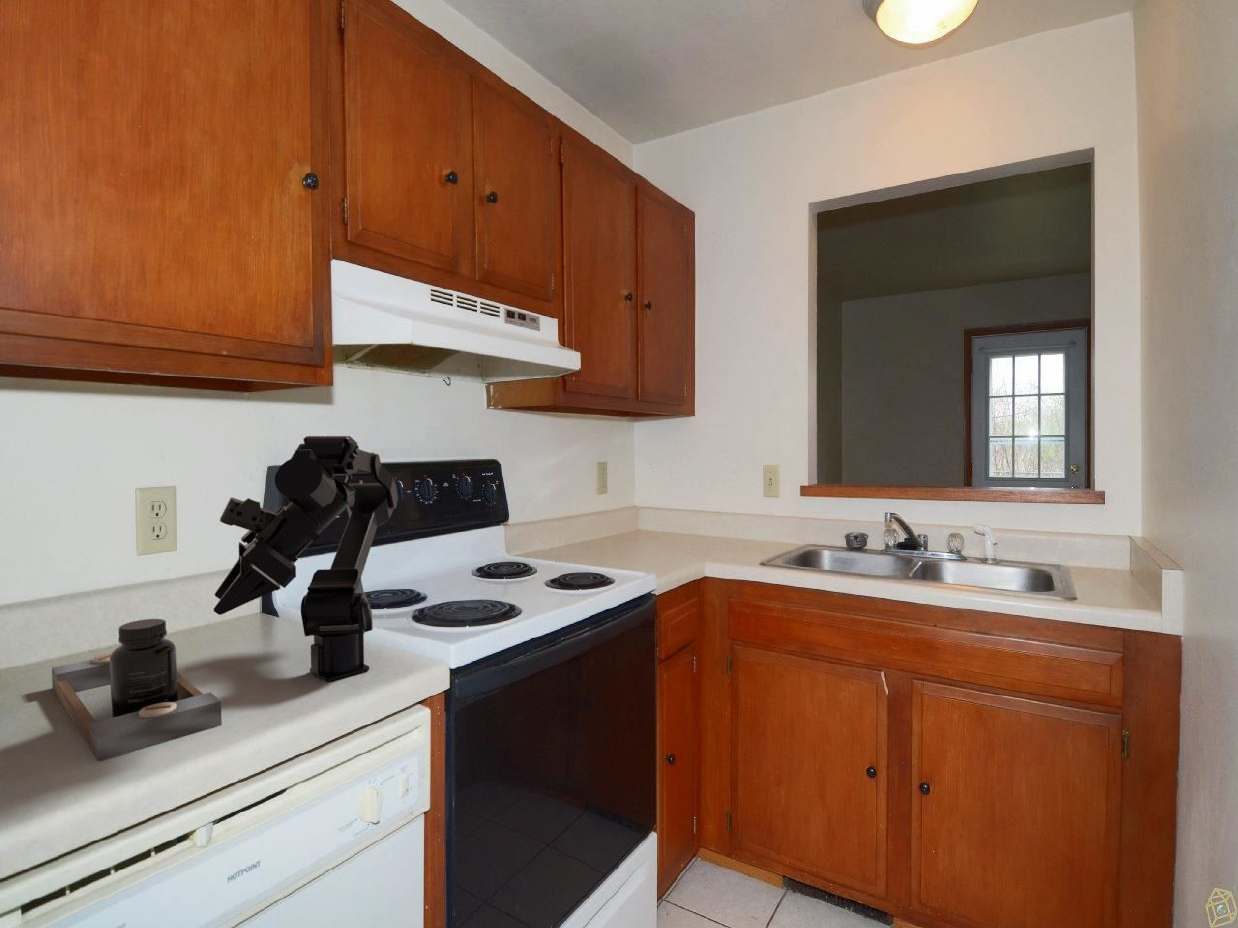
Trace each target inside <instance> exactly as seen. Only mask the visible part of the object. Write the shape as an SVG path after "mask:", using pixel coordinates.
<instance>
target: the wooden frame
mask: <svg viewBox="0 0 1238 928" xmlns="http://www.w3.org/2000/svg"><path fill="white" fill-rule="evenodd" d="M111 654H112V653H107V654H106V653H105V654H102V655H99V656H95V657H93V658H92V659H87V660H83V661H78V662H73V663H68V664H63V665H59V666H58V665H57V666H54V667H53V666H52V667H51V682H52V685H51V686H52V691H53V692H54V693H55V695H56V696H57V698H58V700H59V701H60V704H61V705H62V706H63V708H64V709H65V711H66V713H67V714H68V715H69V718H70V719H71V720H72V722H73V723H74V726H75V727H76V728H77V730H78V732H79V733H80V735H81V736H82V738H83V740H84V741H85V742H86V743H85V744H87V746H88V748H89V749H90V751H91V753H92V754H93V755H94V757H95V759H96V760H97V762H100V761H103V760H104V761H105V760H107V759H111V758H114V757H117V756H121V755H125V754H127V753H130V752H135V751H137V750H138V751H139V750H142V749H145V748H148V747H151V746H154V745H158V744H160V743H165V742H168V741H170V740H171V741H172V740H175V739H178V738H181V737H185V736H188V735H191V734H195V733H198V732H201V731H205V730H207V729H208V728H209V729H212V728H215V726H216V727H218V725H219V726H222V700H221V699H219V697H217V696H215V694H213V693H212V692H207V693H206V692H205V693H203V692H202V691H200V690H199V689H198V688H197V687H196V686H194V685H193V684H192V683H190V682H189V681H188V680H187V679H186V678H185V677H184V676H182V675H181V673H179V672H177V688H178V697H179V698H180V699H179V700H178V701H175V702H164V703H158V704H153V705H150V706H147V707H145V708H143V709H141V710H140V711H137V712H133V713H129V714H125V715H121V716H118V717H114V718H112V717H110V718H106V719H103V720H99V721H96V720H95V718H94V717H93V715H92V713H91V712H90V711H89V710H88V709H87V707H86V705H85V704H84V703H83V701H82V700H81V697H79V696H78V694H77V693H76V692H82V691H85V690H90V689H94V688H98V687H103V686H107V685H110V656H111ZM209 729H208V730H209Z"/></svg>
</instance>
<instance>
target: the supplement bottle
mask: <svg viewBox="0 0 1238 928" xmlns="http://www.w3.org/2000/svg"><path fill="white" fill-rule="evenodd" d="M167 635H168V629H167V621H166V620H164V619H163V618H146V619H145V618H144V619H139V620H134V621H130V622H127V623H123V624H122V625H119V627H118V643H119V644H121V645H119V646H118V647H116V648H115V649H114V650H112V653H110V654H111V656H110V684H109V685H110V705H111V706H110V708H111V718H114V717H118V716H121V715H125V714H129V713H133V712H137V711H140V710H141V709H143V708H145V707H147V706H150V705H153V704H158V703H164V702H175V701H179V700H178V699H179V698H178V688H177V673H178V667H177V666H178V664H177V663H178V662H177V647H176V645H175V643H174V642H173V641H171V640H170V639H167V638H165V637H166V636H167Z"/></svg>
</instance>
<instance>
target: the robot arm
mask: <svg viewBox="0 0 1238 928" xmlns="http://www.w3.org/2000/svg"><path fill="white" fill-rule="evenodd" d="M334 476H346V477H345V479H344V482H341V481H339V480H338V479H335V477H334ZM353 476H357V477H358V476H359V477H360V476H362V477H365V476H367V477H368V476H369V477H370V476H371V477H372V476H374V479H375V480H376V481H377V482H378V483H376V482H375V483H352V484H351V481H352V479H353ZM274 484H275V488H276V489H277V491H278V492H279V493H280V494H281V495H282V496H283V497H285V498H286V499H288V501H290V503H289V504H287V506H285V505H284V506H280V507H279V508H278V509H277V510H276V511H271V510H269V509H267V508H263V507H261V502H260V501H257V500H254V499H251V498H250V497H247V498H246V499H245V500H241V499H238V498H235V497H230V498H229V500H228V502H227V504H226V506H225V508H224V510H223V512H222V514H221V515H220V518H219V522H221V523H222V524H224V525H228V526H236V527H239V528H241V529H245V530H247V532H246V533H245V534H244V535H242V536H241V537H240V541H239V542H238V559H237V560H236V562H235V564H234V565H233V567H232V568H231V569H230V571H229V572H228V574H227V576H226V577H225V578H224V580H223V581H222V583H221V584H220V585H219V587H218V589H216V591H215V593H214V596H215V597H216V598H217V599H219V600H218V602H217V604H216V605H215V606H214V607H213V612H215V613H216V614H217V615H218V616H221V615H224V614H226V613H229V612H230V611H232V610H235V609H236V608H239V607H240V606H243V605H245V604H249V602H252V601H255V600H257V599H259V598H261V597H263V596H266V595H267V594H270V593H272V592H275V591H279V590H281V588H282V587H283V588H284V589H285V588H286V587H288V585H290V583H292V581H293V580H294V579H295V578H296V577H297V570H296V568H297V566H296V565H295V563H296V562H297V561H298V558H297V557H298V556H299V555H300V554H302V552H304V551H305V549H306V548H307V547H308V546H309V545H310V544H311V543H312V542H314V543H316V542H317V541H318V540H319V539H320V538H321V537H322V536H321V535H320V534H321V533H322V532H323V531H324V530H325V529H326V528H327V527H328V526H329V525H330V524H332V522H333V521H334V520H335V519H336V518H337V517H338V516H339V515H340V514H342V512H343V511H344V510H346V509H347V513H348V518H349V519H348V521H347V524H346V527H345V529H344V532H343V534H342V537H341V539H340V541H339V545H338V548H337V551H336V553H335V556H334V559H333V561H332V563H331V566H330V568H329V569H326V568H325V569H317V570H316V571H315V572H314V573H313V576H312V579H311V581H310V583H309V585H308V587H307V592H306V594H305V595H303V597H302V600H301V604H300V617H301V623H302V628H303V634H304V637H310V636H311V637H312V636H313V644H311V645H310V668H309V672H310V673H312V674H314V675H315V676H317V677H318V678H320V679H323V680H324V681H327V682H331V681H334V680H339V679H342V678H345V677H346V678H347V677H349V676H353V675H356V674H360V673H363V672H366V671H369V670H370V666H369V665H367V664H366V663H365V647H364V646H365V645H364V643H365V642H364V639H365V637H364V635H365V633H368V632H370V631H371V632H372V631H373V628H374V627H373V610H372V608H371V606H370V604H369V603H370V602H369V600H368V598H367V594H366V593H365V592H364V586H363V582H362V576H363V572H364V570H365V566H366V564H367V560H368V556H369V553H370V551H371V548H372V544H373V541H374V538H375V535H376V533H377V532H376V531H377V529H378V527H379V526H382V525H383V524H385V523H387V522H388V521H389V520H390V519H391V518H392V517H391V516H392V514H393V511H394V510H395V509H397V505H398V491H397V486H396V482H395V478H394V476H393V474H391V473H390V471H388V470H387V468H385V467H384V466H383V465H382V462H381V458H380V455H379V453H375V452H369V451H365V450H362V449H360V447H359V444H358V443H357V441H356V440H355V439H354V438H353V437H352V436H351V435H307V436H305V437H304V438H303V443H299V444H298V446H297V448H296V449H295V451H294V453H293V454H292V455H291V458H290V459H288V460H286V461H285V462H284V463H282V465H281V466H279V468H278V470H277V472H275V474H274ZM241 541H242V542H243V543H242V542H241Z"/></svg>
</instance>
